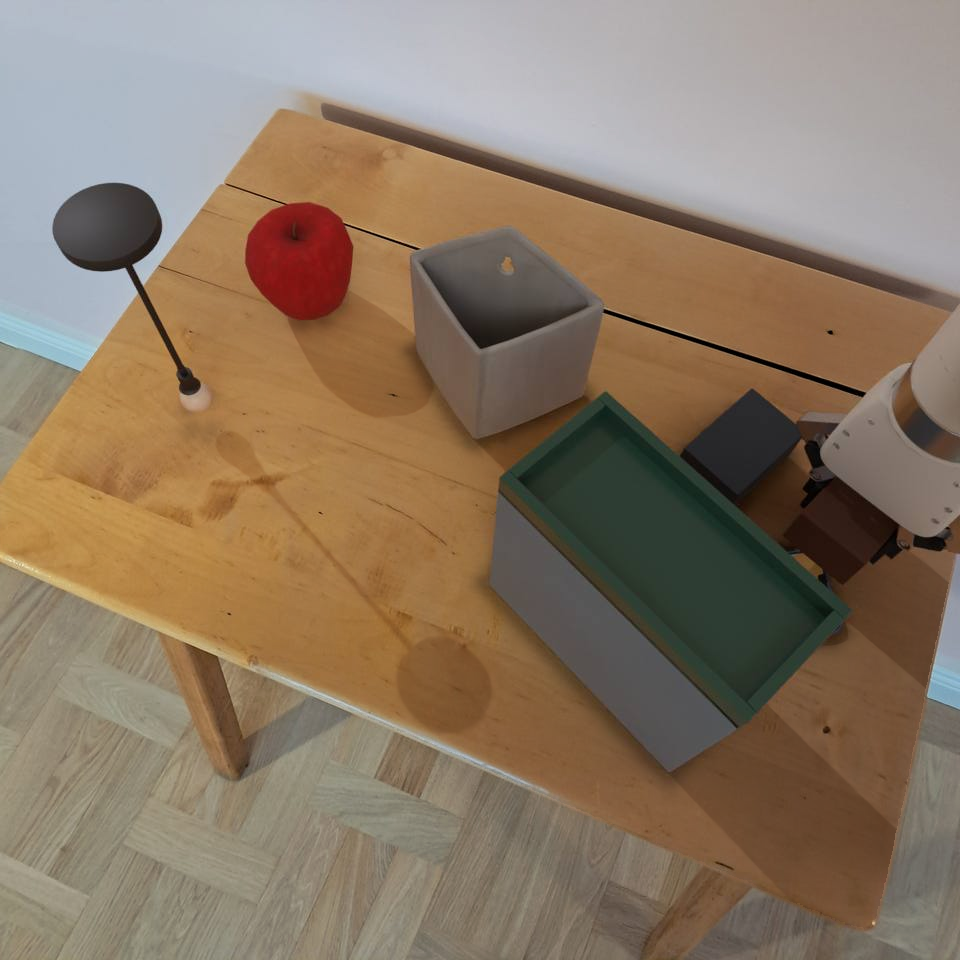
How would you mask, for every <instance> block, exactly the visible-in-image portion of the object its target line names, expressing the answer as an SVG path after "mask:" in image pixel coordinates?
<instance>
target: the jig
mask: <svg viewBox="0 0 960 960" xmlns="http://www.w3.org/2000/svg"><path fill="white" fill-rule="evenodd" d="M498 492H499V493H500V494H501V495H502V496H503V497H504V498H505V499H506V500H507V501H508V502H509V503H510V504H511V505H512V506H513V507H514V508H515V509H516V510H517V511H518V512H519V513H520V514H521V515H522V516H523V517H524V518H525V519H526V520H527V521H528V522H529V523H530V524H531V525H532V526H533V527H534V528H535V529H536V530H537V531H538V532H539V533H540V534H541V535H542V536H543V537H544V538H545V539H546V540H547V541H548V542H549V543H550V544H551V545H552V546H553V547H554V548H555V549H556V550H557V551H558V552H559V553H560V554H561V555H562V556H563V557H564V558H565V559H566V560H567V561H568V562H569V563H570V564H571V565H572V566H573V567H574V568H575V569H576V570H577V571H578V572H579V573H580V574H581V575H583V576H584V577H585V578H586V579H587V580H588V581H589V582H590V583H591V584H592V585H593V586H594V587H595V588H596V589H597V590H598V591H599V592H600V593H601V594H602V595H603V596H604V597H605V598H606V599H607V600H608V601H609V602H610V603H611V604H612V605H613V606H614V607H615V608H616V609H617V610H618V611H619V612H620V613H621V614H622V615H623V616H624V617H625V618H626V619H627V620H628V621H629V622H630V623H631V624H632V625H633V626H634V627H635V628H636V629H637V630H638V631H639V632H640V633H641V634H642V635H643V636H644V637H645V638H646V639H647V640H648V641H649V642H650V643H651V644H652V645H653V646H654V647H655V648H656V649H657V650H658V651H659V652H660V653H661V654H662V655H663V656H664V657H665V658H666V659H667V660H668V661H669V662H670V663H671V664H672V665H673V666H674V667H675V668H676V669H677V670H678V671H679V672H680V673H681V674H682V675H683V676H684V677H685V678H686V679H687V680H688V681H689V682H690V683H691V684H692V685H693V686H694V687H695V688H696V689H697V690H698V691H699V692H700V693H701V694H702V695H703V696H704V697H705V698H706V699H707V700H708V701H709V702H711V703H712V704H713V705H714V706H715V707H716V708H717V709H718V710H719V711H720V712H721V713H722V714H723V715H724V716H725V717H726V718H727V719H728V720H729V721H730V722H731V723H732V724H733V725H734V726H735V727H736V728H737V730H739V729H740V728H742V727H743V726H744V725H747V724H748V723H749V722H751V720H753V718H754V717H755V716H756V715H757V714H758V713H759V712H760V711H761V710H762V708H763V707H765V705H767V703H769V701H770V700H771V699H772V698H773V697H774V696H775V695H776V694H777V693H778V692H779V690H780V689H781V688H782V687H783V686H784V685H785V684H787V682H788V681H789V680H790V679H791V678H792V677H793V676H794V675H795V674H796V673H797V672H798V670H799V669H801V667H802V666H803V665H805V663H806V662H807V661H808V660H809V658H811V656H813V655H814V653H816V651H817V650H818V649H819V648H820V647H821V646H822V645H823V644H824V643H825V641H827V640H828V639H829V638H830V636H832V635H831V634H832V633H833V632H834V631H835V630H836V629H837V628H838V627H839V625H840V624H841V623H842V624H843V622H844V621H845V620H846V619H847V618H848V617H849V616H850V615H851V614H852V613H853V609H852V608H851V607H850V606H849V605H848V604H847V603H845V602H844V601H843V600H842V599H841V598H840V597H838V596H837V594H835V593H834V592H833V590H832V591H831V590H829V589H828V588H827V587H826V586H825V585H824V584H823V583H822V582H820V581H819V580H818V579H817V578H816V577H815V576H814V575H813V574H811V573H810V572H809V571H808V570H807V569H806V568H805V567H804V566H802V565H801V564H800V563H799V562H798V561H797V560H796V559H795V558H793V557H792V556H791V555H790V554H789V553H788V552H789V551H787V550H786V549H784V547H782V546H781V545H780V544H779V543H778V542H777V541H776V540H774V538H773V537H772V536H770V535H769V534H768V533H767V532H765V530H764V529H762V528H761V527H760V526H758V524H757V523H756V522H754V521H753V520H752V519H751V518H750V517H749V516H747V515H746V514H745V513H744V512H743V511H742V510H741V509H739V508H738V506H737V505H736V506H735V505H734V504H733V503H731V502H730V501H729V500H728V499H727V498H726V497H725V496H724V495H722V494H721V493H720V492H719V491H718V490H717V489H716V488H715V487H713V486H712V485H711V484H710V483H709V482H708V481H707V480H706V479H704V478H703V477H702V476H701V475H700V474H699V473H698V472H697V471H695V470H694V469H693V468H692V467H691V466H690V465H689V464H688V463H686V462H685V461H684V460H683V459H682V458H681V457H680V455H679V454H678V453H677V452H675V451H674V450H673V449H672V448H671V447H670V446H668V444H666V443H665V442H664V441H663V440H662V439H661V438H660V437H659V436H657V435H656V434H655V433H654V432H653V431H652V430H651V429H649V428H648V427H647V426H646V424H644V423H643V422H641V420H639V419H638V418H637V417H636V416H635V415H634V414H632V413H631V412H630V411H629V410H628V409H627V408H626V407H625V406H624V405H622V404H621V403H620V402H619V401H618V400H617V399H616V398H615V397H613V396H612V395H611V394H610V393H609V392H608V391H607V390H604V391H603V392H602V393H601V394H600V395H598V396H597V397H596V398H595V399H594V400H592V401H591V402H590V403H588V404H587V405H586V406H585V407H583V409H581V410H579V412H577V413H576V414H574V416H573V417H572V418H569V420H567V421H566V422H565V423H564V424H563V425H561V426H560V427H559V428H558V429H556V431H553V433H552V434H550V435H549V436H548V437H547V438H545V439H544V440H543V441H541V442H540V443H539V444H538V445H537V446H536V447H534V448H533V449H532V450H530V451H529V452H527V454H526V455H524V456H523V457H522V458H520V460H518V461H517V462H516V463H515V464H514V465H512V466H511V467H510V468H509V469H508V470H506V471H505V472H504V473H503V474H501V475H500V476H499V477H498V487H497V493H498Z"/></svg>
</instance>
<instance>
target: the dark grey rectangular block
mask: <svg viewBox="0 0 960 960" xmlns="http://www.w3.org/2000/svg"><path fill="white" fill-rule="evenodd" d="M802 440H803V439H802V437H801V435H800V432H799V430H798V427H797V425H796V422H794V421H793V420H792V419H791V418H789V417H788V416H787V415H786V414H784V413H783V412H782V411H781V410H780V409H778V408H777V407H776V406H775V405H774V404H772V403H771V402H770V401H769V400H767V398H765V397H764V396H763V395H762V394H760V392H758V391H757V390H755V389H754V388H750V389H749V390H748V391H746V393H745V394H743V395H742V396H741V397H740V398H739V399H737V400H736V401H735V402H734V403H733V404H732V405H731V406H730V407H728V409H726V410H725V411H724V412H723V413H721V415H719V417H717V418H716V419H715V420H714V421H712V423H710V424H709V425H708V426H707V427H706V428H704V430H702V431H701V432H700V433H699V434H698V435H697V436H695V437H694V438H693V439H691V441H690V442H689V443H688V444H686V445H685V446H684V448H683V450H682V452H681V453H680V455H679V456H680V457H681V458H682V459H683V460H684V461H685V462H686V463H688V464H689V465H690V466H691V467H692V468H693V469H694V470H695V471H697V472H698V473H699V474H700V475H701V476H702V477H703V478H704V479H706V480H707V481H708V482H709V483H710V484H711V485H712V486H713V487H715V488H716V489H717V490H718V491H719V492H720V493H721V494H722V495H724V496H725V497H726V498H727V499H728V500H729V501H730V502H731V503H733V504H734V505H735V506H736V507H737V506H738V504H740V503H741V502H742V501H743V500H744V499H745V498H746V497H748V495H750V493H752V491H753V490H755V489H756V488H757V487H758V486H759V485H760V484H762V482H763V481H764V480H765V479H766V478H768V477H769V476H770V475H771V474H772V473H773V472H774V471H775V470H776V469H777V468H778V467H779V466H780V465H781V464H783V462H785V461H786V460H787V459H788V458H789V457H790V455H791V454H792V453H793V451H794V450H795V448H796V447H797V446H798V445H799V443H800V442H801V441H802Z"/></svg>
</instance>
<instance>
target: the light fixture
mask: <svg viewBox="0 0 960 960" xmlns="http://www.w3.org/2000/svg"><path fill="white" fill-rule="evenodd" d="M51 231H52V236H53V239H54V241H55V243H56V245H57V247H58V249H59V250H60V252H61V253H62V255H63V256H64V257H65V259H66V260H67V261H69V262H70V263H71V264H72V265H75V266H76V267H79V268H81V269H83V270H86V271H91V272H100V273H103V272H114V271H119V270H123V269H125V271H126V273H127V274H128V276H129V278H130V280H131V282H132V284H133V287H134V288H135V289H136V290H135V291H137V293H138V295H139V297H140V299H141V301H142V303H143V305H144V306H145V309H146V311H147V312H148V314H149V317H150V318H151V320H152V322H153V324H154V326H155V328H156V330H157V331H158V332H157V333H158V334H159V335H160V337H161V340H162V341H163V343H164V345H165V347H166V349H167V351H168V353H169V355H170V357H171V358H172V360H173V362H174V364H175V366H176V373H175V376H176V378H177V380H178V381H179V384H178V391H179V395H178V396H179V397H178V398H179V400H180V403H181V406H182V407H184V408H185V409H186V410H187V411H189V412H192V413H199V412H203V411H205V410H206V409H208V408H209V406H210V405H211V403H212V401H213V400H212V399H213V394H212V390H211V389H210V387H209V386H208V385H207V384H206V383H203V382H202V381H201V380H200V379H198V378H197V377H195V376H194V374H193V371H192V369H191V368H189V367H187V366H185V365H184V364H183V362H182V360H181V358H180V356H179V354H178V352H177V350H176V348H175V346H174V344H173V342H172V340H171V338H170V336H169V333H168V332H167V330H166V328H165V326H164V325H163V323H162V321H161V318H160V316H159V315H158V313H157V311H156V309H155V306H154V304H153V303H152V301H151V299H150V296H149V294H148V293H147V291H146V289H145V287H144V285H143V283H142V281H141V279H140V277H139V276H138V275H139V274H138V273H137V271H136V269H135V267H134V266H133V265H135V264H137V263H139V262H140V261H142V260H143V259H145V258H146V257H147V256H148V255H150V254H151V252H152V251H154V249H155V248H156V246H157V245H158V243H159V242H160V240H161V237H162V233H163V219H162V216H161V214H160V211H159V209H158V206H157V204H156V202H155V201H154V199H153V198H152V197H151V195H150V194H149V193H148V192H146V191H144V189H142V188H140V187H138V186H136V185H132V184H129V183H123V182H104V183H98V184H94V185H91V186H88V187H86V188H83V189H81V190H79V191H77V192H76V193H74V194H72V195H71V196H69V197H68V198H67V200H65V201H64V202H63V203H62V204H61V205H60V207H59V208H58V210H57V211H56V213H55V215H54V217H53V221H52V230H51Z"/></svg>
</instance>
